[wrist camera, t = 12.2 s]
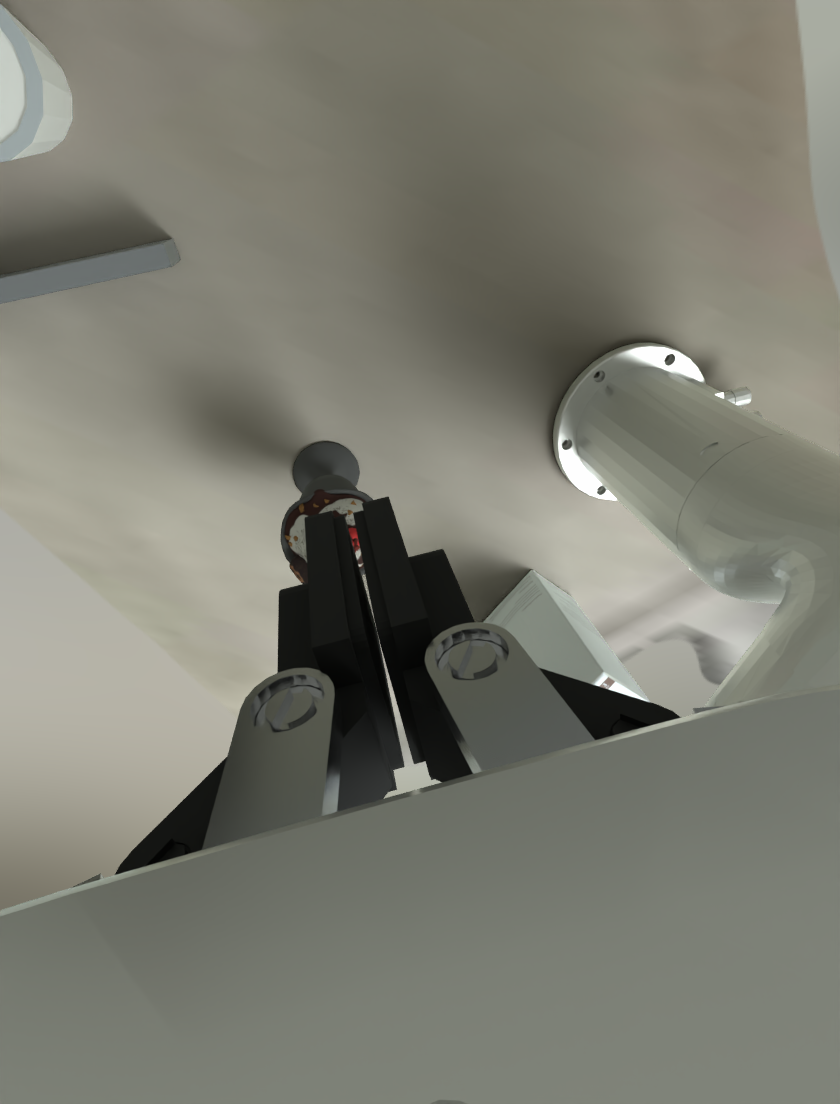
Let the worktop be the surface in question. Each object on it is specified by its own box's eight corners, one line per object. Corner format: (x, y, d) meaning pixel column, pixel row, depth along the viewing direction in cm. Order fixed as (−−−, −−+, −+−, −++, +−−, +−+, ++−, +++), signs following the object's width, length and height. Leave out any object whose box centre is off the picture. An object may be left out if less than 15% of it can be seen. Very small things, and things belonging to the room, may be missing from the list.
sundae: (360, 420, 45) (390, 515, 32) (377, 501, 48) (409, 614, 36) (271, 439, 44) (265, 542, 32) (294, 519, 48) (297, 640, 35)
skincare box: (515, 653, 60) (576, 778, 47) (470, 627, 57) (522, 753, 44) (576, 592, 57) (657, 708, 45) (532, 562, 54) (606, 676, 42)
